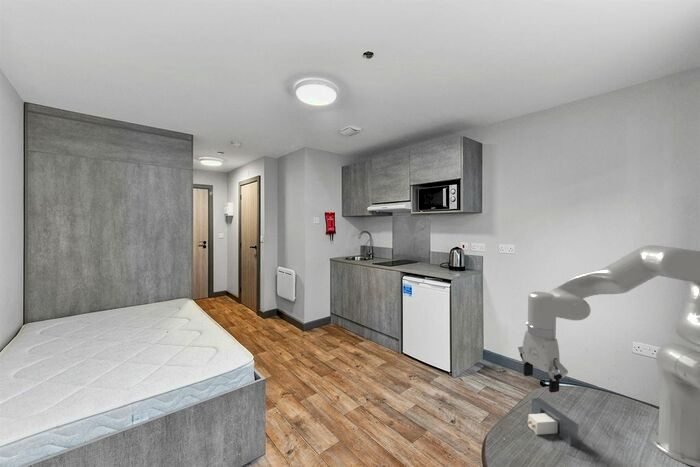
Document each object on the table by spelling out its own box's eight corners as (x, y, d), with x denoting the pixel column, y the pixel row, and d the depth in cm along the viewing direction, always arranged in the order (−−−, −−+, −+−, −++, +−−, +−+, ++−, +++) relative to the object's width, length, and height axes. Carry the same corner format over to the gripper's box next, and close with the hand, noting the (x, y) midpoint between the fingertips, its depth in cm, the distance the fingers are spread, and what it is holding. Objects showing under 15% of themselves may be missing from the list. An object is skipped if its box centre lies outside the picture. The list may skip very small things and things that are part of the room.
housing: (538, 413, 102) (538, 397, 101) (578, 443, 88) (578, 424, 88) (531, 415, 101) (531, 398, 101) (570, 445, 87) (570, 426, 87)
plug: (559, 423, 97) (559, 412, 97) (569, 432, 93) (569, 420, 93) (525, 426, 96) (525, 414, 96) (534, 434, 92) (534, 422, 92)
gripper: (510, 322, 99) (510, 371, 100) (557, 343, 83) (556, 401, 83) (528, 320, 101) (527, 368, 102) (577, 340, 84) (576, 397, 85)
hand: (540, 383), depth 93 cm, fingers open, 9 cm apart
